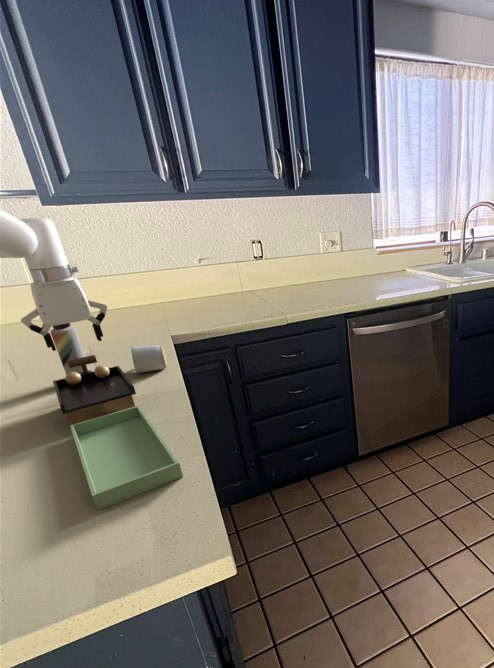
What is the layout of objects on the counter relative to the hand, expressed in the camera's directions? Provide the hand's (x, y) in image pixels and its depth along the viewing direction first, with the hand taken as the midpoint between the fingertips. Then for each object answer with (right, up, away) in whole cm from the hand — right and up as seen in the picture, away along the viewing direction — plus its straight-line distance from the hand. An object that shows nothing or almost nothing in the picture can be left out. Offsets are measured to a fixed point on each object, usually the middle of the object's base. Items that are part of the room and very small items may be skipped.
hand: (77, 344), depth 106 cm
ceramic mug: (+8, -6, +20) cm, 22 cm away
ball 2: (+6, -7, 0) cm, 9 cm away
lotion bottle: (-9, -9, +14) cm, 19 cm away
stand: (+7, -15, -2) cm, 17 cm away
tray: (+26, -24, -23) cm, 42 cm away
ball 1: (+2, -8, -4) cm, 9 cm away
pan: (+7, -11, -4) cm, 13 cm away
